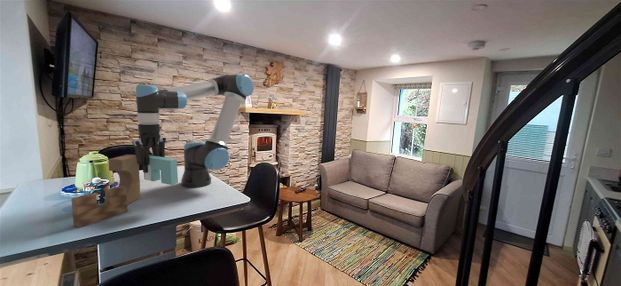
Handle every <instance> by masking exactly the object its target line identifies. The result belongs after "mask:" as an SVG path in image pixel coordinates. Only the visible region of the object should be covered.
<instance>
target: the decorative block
mask: <svg viewBox="0 0 621 286" xmlns="http://www.w3.org/2000/svg"><path fill="white" fill-rule="evenodd" d="M107 162H108V163H107V164H108V171H111V172H115V173H117V175H118V177H119V184H118V186H117V187H119V186H123V187H126V196H127V206H128V205H129V204H131V203H133V202H135V201H137V200H139V199H141V182H140V181H141V180H140V179H141V177H140V164H137V159H136V154H124V155H120V156H116V157H115V156H114V157H113V158H109V159H107Z"/></svg>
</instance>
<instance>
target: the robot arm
mask: <svg viewBox="0 0 621 286" xmlns="http://www.w3.org/2000/svg"><path fill="white" fill-rule="evenodd" d="M254 87H255V86H254V83H253V80H252V77H250V76H249V75H248V74H244V73H243V74H242V73H237V74H224V75H221V76H216V77H213V78H209V79H208V80H207V81H202V82H196V83H191V84H187V85H186V84H185V85H182V86H175V87H170V88H166V89H161V90H160V89H159V88H158V86H157V85H151V84H137V85H136V86H135V100H136V101H135V102H136V110H137V111H136V113H137V115H136V116H137V123H139V124H138V125H137V129H138V130H137V131H138V134H139V136H138V139H136V140H132V141H131V144H132V145H133V146H134V147H133V148H134V151H135V155H136V159H137V164H139V165H142V172H143V174H144V173H145V179H144V180H145V181H149V180H151V167H150V165H148V163H149V155H150V150H151V152H152V156H159V157H165V158H166V155H165V152H166V150H165V149H166V148H165V147H166V141H167V138H166V137H162V136H161V135H160V132H161V126H160V110H163V109H164V110H166V109H168V110H180V109H185V108H186V107H187V105H188V101H192V100H195V99H200V98H205V97H210V96H212V97H217V96H224V97H225V99H224V101H223V104H222V106H221V109H220V111H219V114H218V117H217V119H216V122H215V124H214V127H213V130H212V132H211V136H210V138H208V139H206V140H205V141H195V142H186V143H184V145H183V159H184V161H183V163H184V169H183V170H184V172H183V174H182V178H181V180H180V182H181V183H180V185H181V186H182V187H185V188H201V187H206V186H208V185H210V184H212V177H211V175H210V171H209V170H211V171H219V170H222V169H224V168H225V167H226V166H227V165H228V163H229V160H230V153H229V151H228V150H229V145H228V144H227V143H228V141H229V138H230V135H231V133H232V130H233V127H234V124H235V121H236V119H237V116H238V113H239V111H240V108H241V105H242V104H243V103H245V102H246V99H247V97H249V96H251V95H252V94H253V92H254V89H255V88H254Z"/></svg>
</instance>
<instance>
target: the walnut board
mask: <svg viewBox="0 0 621 286" xmlns="http://www.w3.org/2000/svg"><path fill="white" fill-rule="evenodd" d="M118 186H119V185H118ZM118 186H115V187H112V188H108V189H105V190H104V195H105V197H104V199H105V202H104V203H100V204H98V199H97V198H98V197H97V194H95V193H87V194H83V195H78V196H75V197H71V210H72V220H73V221H72V222H73V227H75V228H78V229H79V228H82V227H85V226H88V225H89V226H90V225H91V224H95V223H99V222H100V221H103V220H106V219H110V218H113V217H115V216H117V215H118V216H119V215H121V214H124V213H127V212H128V205H127V196H126V187H123V186H119V187H118Z"/></svg>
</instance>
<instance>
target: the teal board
mask: <svg viewBox="0 0 621 286" xmlns="http://www.w3.org/2000/svg"><path fill="white" fill-rule="evenodd" d="M148 165H150V167H151V180H148V181H151V182H157V181H160V180H161V181H160V183H161V184H165V185H169V186H174V185H176V184H178V183H179V178H178V176H179V175H178V159H177V158H171V157H166V156H165V157H159V156H153V154H149V163H148ZM143 179H144V180H145V173H144V172H143Z"/></svg>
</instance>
